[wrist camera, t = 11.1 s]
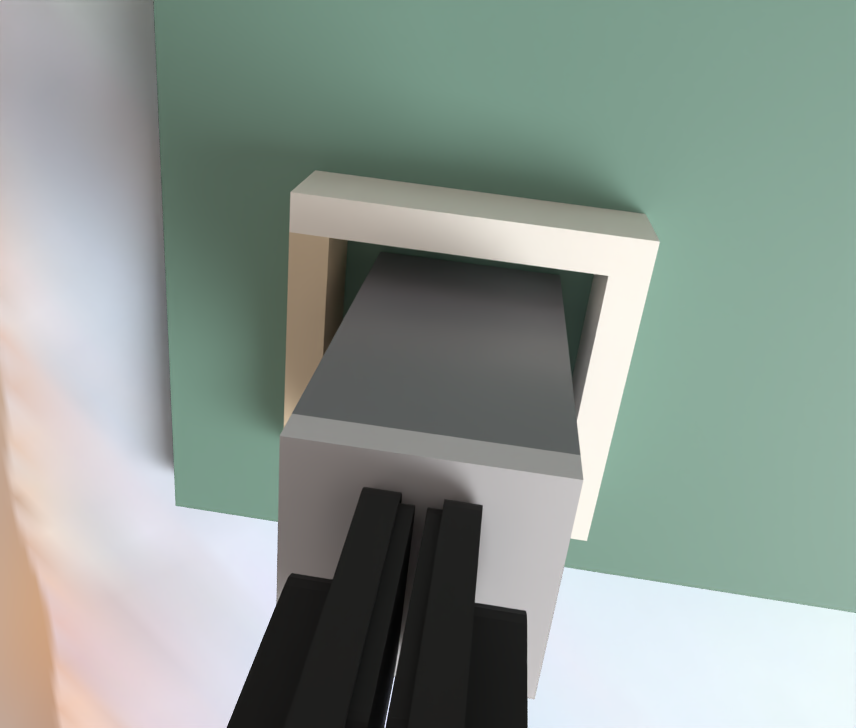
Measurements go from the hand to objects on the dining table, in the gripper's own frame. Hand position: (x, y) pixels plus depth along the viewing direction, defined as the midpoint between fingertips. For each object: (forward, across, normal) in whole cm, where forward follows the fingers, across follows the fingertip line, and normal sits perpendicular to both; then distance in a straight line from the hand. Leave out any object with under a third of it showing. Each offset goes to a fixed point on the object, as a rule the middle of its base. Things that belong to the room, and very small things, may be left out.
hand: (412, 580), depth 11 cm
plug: (+8, 0, 0) cm, 8 cm away
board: (+9, -3, -2) cm, 10 cm away
